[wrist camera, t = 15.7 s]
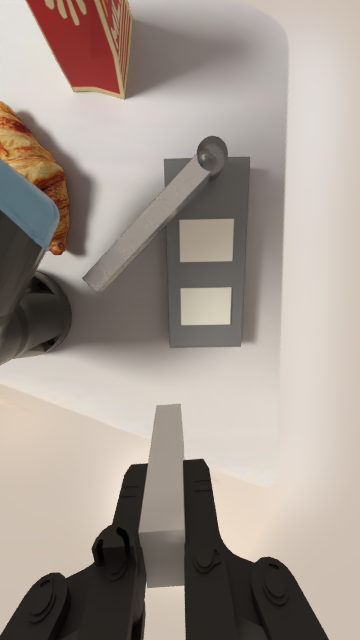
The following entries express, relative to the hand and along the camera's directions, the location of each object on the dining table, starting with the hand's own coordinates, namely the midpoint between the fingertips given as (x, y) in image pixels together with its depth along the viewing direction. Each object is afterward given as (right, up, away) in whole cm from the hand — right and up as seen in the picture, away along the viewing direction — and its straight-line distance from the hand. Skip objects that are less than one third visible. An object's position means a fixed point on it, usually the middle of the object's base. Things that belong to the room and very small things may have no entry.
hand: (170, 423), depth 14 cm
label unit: (+5, +16, +23) cm, 28 cm away
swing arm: (-3, +20, +16) cm, 26 cm away
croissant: (-21, +27, +21) cm, 40 cm away
